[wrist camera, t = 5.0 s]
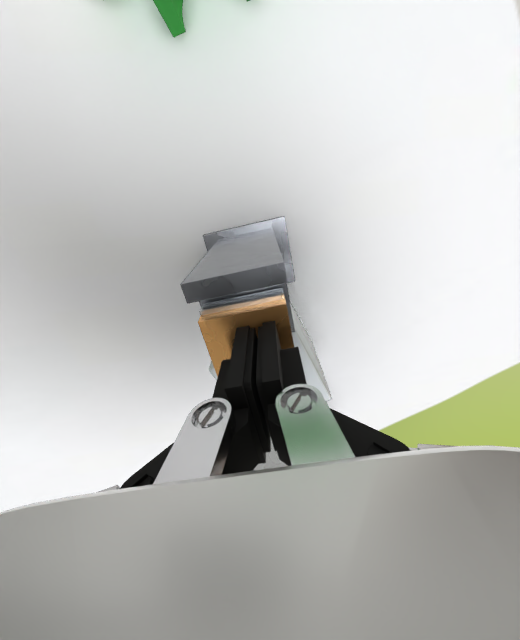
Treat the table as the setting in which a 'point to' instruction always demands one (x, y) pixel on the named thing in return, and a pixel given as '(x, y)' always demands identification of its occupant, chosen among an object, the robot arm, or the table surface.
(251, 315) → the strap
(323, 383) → the product box
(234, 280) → the lug block
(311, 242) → the table surface
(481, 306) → the table surface
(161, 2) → the pipe clamp
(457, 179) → the table surface
